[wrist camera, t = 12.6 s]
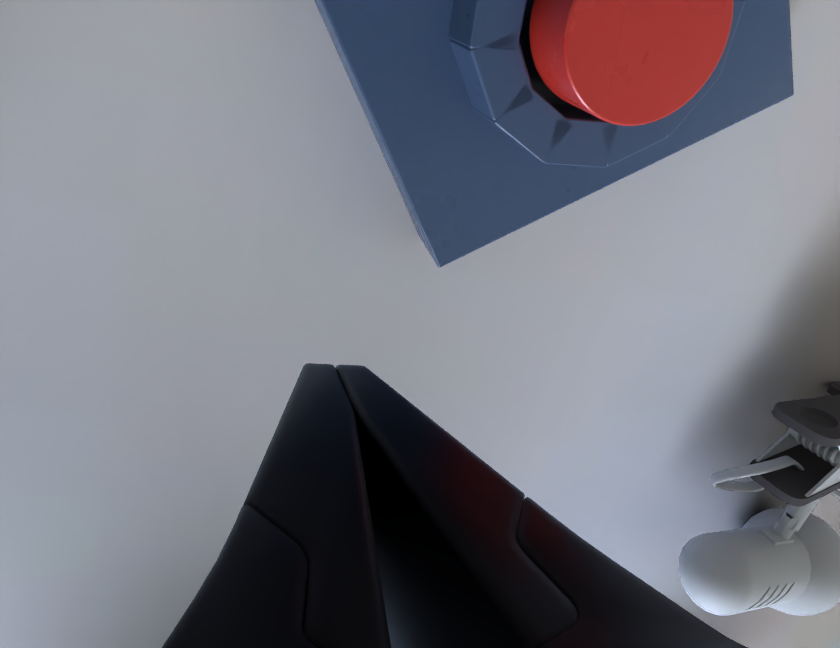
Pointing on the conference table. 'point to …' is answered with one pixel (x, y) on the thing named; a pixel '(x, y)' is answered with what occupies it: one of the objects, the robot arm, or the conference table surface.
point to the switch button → (628, 53)
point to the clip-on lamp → (777, 524)
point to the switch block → (519, 111)
